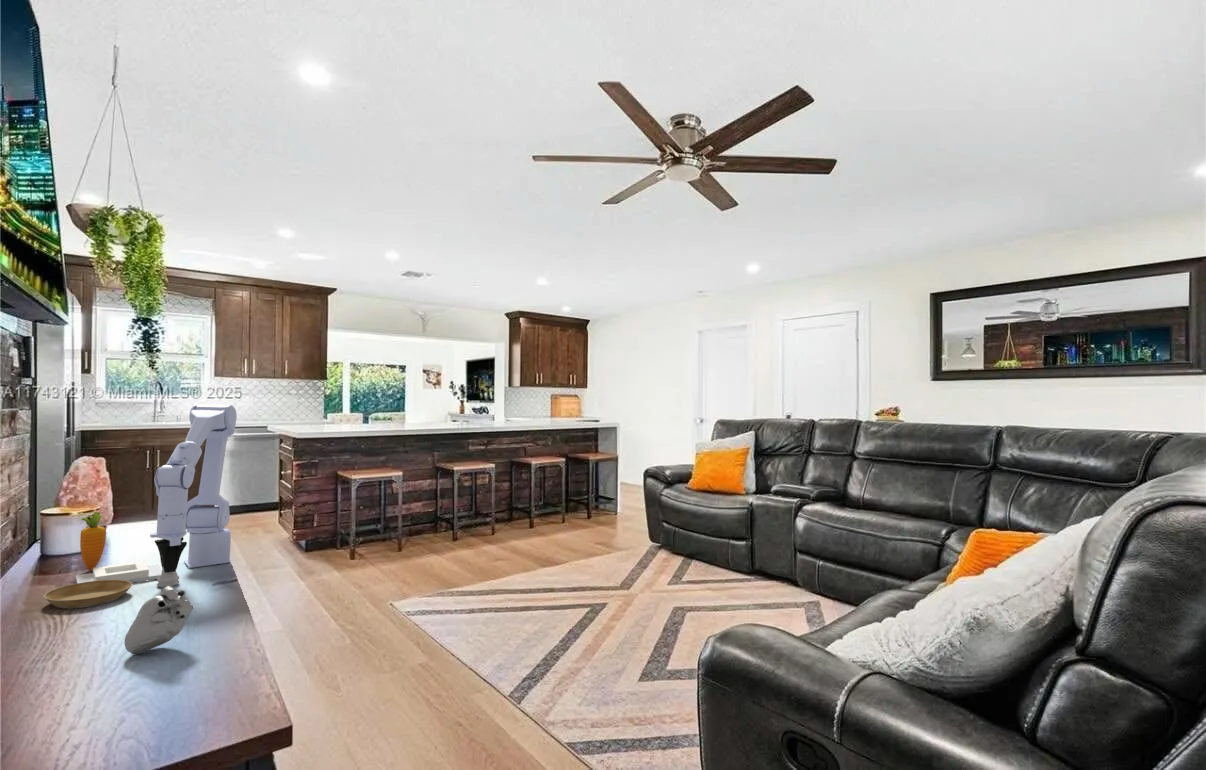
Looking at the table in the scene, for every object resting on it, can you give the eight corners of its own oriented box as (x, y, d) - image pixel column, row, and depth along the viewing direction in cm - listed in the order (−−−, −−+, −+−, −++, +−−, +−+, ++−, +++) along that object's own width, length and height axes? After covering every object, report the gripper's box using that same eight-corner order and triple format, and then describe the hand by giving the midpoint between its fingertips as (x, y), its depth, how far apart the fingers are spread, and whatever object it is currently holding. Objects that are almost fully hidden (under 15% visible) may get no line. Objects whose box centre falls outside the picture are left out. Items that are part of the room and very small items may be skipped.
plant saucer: (128, 586, 138) (129, 575, 138) (135, 602, 127) (136, 590, 127) (43, 599, 127) (43, 587, 127) (42, 617, 117) (43, 605, 117)
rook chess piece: (183, 583, 140) (185, 550, 140) (164, 588, 136) (166, 555, 136) (171, 581, 141) (173, 548, 142) (151, 586, 137) (154, 553, 138)
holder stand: (157, 567, 152) (158, 558, 152) (163, 578, 144) (164, 568, 144) (76, 579, 141) (76, 569, 141) (77, 591, 132) (78, 580, 133)
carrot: (91, 573, 146) (95, 514, 146) (72, 573, 146) (76, 514, 146) (108, 568, 151) (112, 511, 151) (90, 567, 151) (94, 510, 151)
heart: (184, 631, 111) (174, 572, 109) (204, 643, 105) (194, 581, 104) (118, 658, 102) (107, 594, 101) (137, 672, 97) (125, 605, 96)
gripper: (147, 511, 142) (144, 566, 141) (155, 520, 131) (152, 580, 131) (182, 508, 147) (179, 561, 146) (192, 517, 136) (189, 574, 136)
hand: (168, 570), depth 139 cm, fingers closed on rook chess piece, 3 cm apart
